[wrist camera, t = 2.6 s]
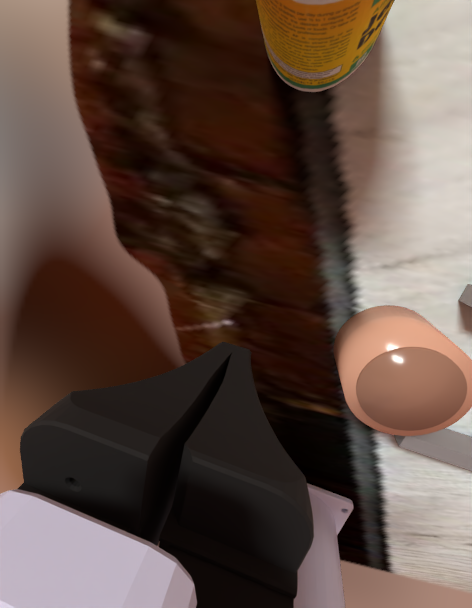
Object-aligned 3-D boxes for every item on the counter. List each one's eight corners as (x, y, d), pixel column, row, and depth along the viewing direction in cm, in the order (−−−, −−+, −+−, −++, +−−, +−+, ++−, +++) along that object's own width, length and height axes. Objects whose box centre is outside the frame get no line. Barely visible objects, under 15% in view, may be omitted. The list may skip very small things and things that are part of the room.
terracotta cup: (406, 400, 18) (438, 455, 14) (319, 370, 18) (326, 415, 14) (457, 323, 15) (513, 363, 12) (356, 292, 16) (376, 320, 12)
